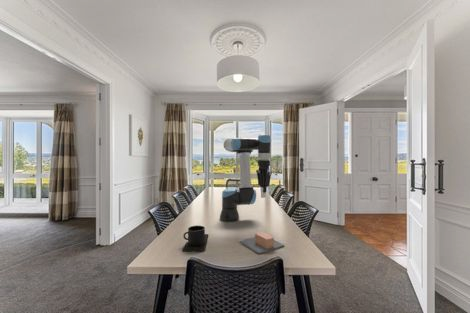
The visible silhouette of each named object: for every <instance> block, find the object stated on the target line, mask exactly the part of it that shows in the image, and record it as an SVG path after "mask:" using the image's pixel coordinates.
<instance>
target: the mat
mask: <svg viewBox="0 0 470 313" xmlns="http://www.w3.org/2000/svg"><path fill="white" fill-rule="evenodd" d="M239 243H240V244H242V246H244V247H246V248H247V249H250V250H251V251H252V252H255V254H258V255H261V254H264V253H265V254H266V253H267V252H271V251H274V250H277V249H282V248H284V247H285V244H283V243H281V242H279V241H277V240H276V239H274V247H271V248H268V249H266V248H265V247H263V246H261V245H259V244H257V243H255V236H253V237H250V238H245V239H242V240H239Z"/></svg>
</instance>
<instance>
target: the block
mask: <svg viewBox="0 0 470 313" xmlns="http://www.w3.org/2000/svg"><path fill="white" fill-rule="evenodd" d="M254 237H255V243H257V244H259V245H261V246H263V247H265V248H266V249H268V248H271V247H274V240H275V238H274V236H271V235H270V234H267V233H265V232H264V231H261V232H256V233H255V234H254Z"/></svg>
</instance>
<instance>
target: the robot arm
mask: <svg viewBox="0 0 470 313" xmlns="http://www.w3.org/2000/svg"><path fill="white" fill-rule="evenodd" d="M271 142H272V139H271V135H269V134H259V135H258V136H257V138H256V137H255V138H253V137H252V138H251V137H250V138H248V137H247V138H246V137H230V138H227V139H226V140H224V142H223V148H224V149H225V151H227V152H230V153H236V155H237V156H238V160H239V162H238V163H239V180H240V181H239V182H240V185H239V186H238V189H237V187H233V188H232V187H231V188H225V189H223V190H222V193H221V211H220V214H219V220H220V221H222V222H227V223H228V222H229V223H231V222H236V221H239V220H240V214H239V212H238V206H243V205H244V206H249V205H254V204H255V202H256V201H257V200H256V199H257V191H256V189H254V186H253V185H252V176H251V175H252V174H251V162H250V161H251V160H250V157H251V155H252V152H254V151H257V159H258V160H257V166H258V169H256V171H255V172H256V177H257V183H258V184H257V185H258V186H259V187H260V198H262V199H264V198H267V188H268V187H270V182H271V176H272V174H273V172H272V171H270V166H271V160H270V159H271Z"/></svg>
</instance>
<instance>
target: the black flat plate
mask: <svg viewBox="0 0 470 313" xmlns="http://www.w3.org/2000/svg"><path fill="white" fill-rule="evenodd" d="M208 239H209V234H207V233H205V244H204V245H202V246H200V247H191V246H189V245H188V241H186V242H185V244H184V246H183V248H182V249H181V252H182V253H199V252H200V253H201V252H205V251H206V248H207V245H208Z"/></svg>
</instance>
